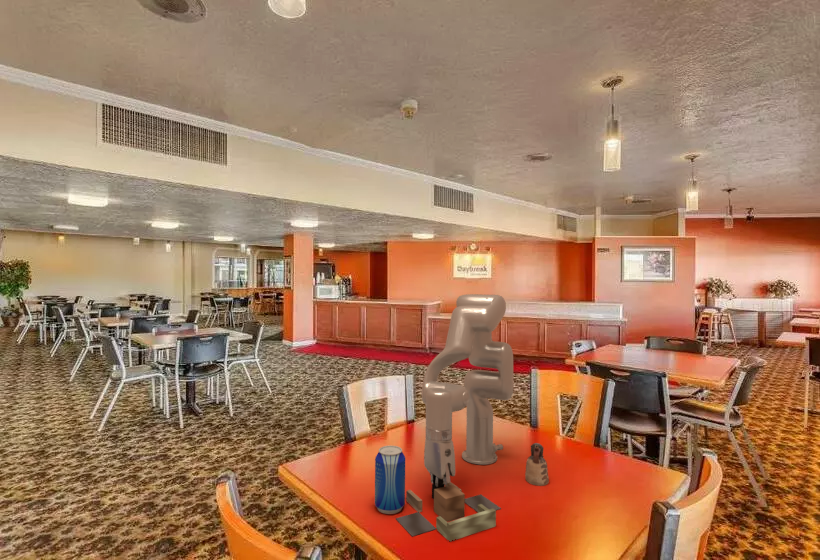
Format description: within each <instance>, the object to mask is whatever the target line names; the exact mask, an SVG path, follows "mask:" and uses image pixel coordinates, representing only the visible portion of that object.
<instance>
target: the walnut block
mask: <svg viewBox="0 0 820 560" xmlns="http://www.w3.org/2000/svg"><path fill="white" fill-rule="evenodd" d="M465 499H466V498H465V493H464V492H461V491H460V490H459V489H457V488H456V487H455V486H453V485H449V486H445V485H444V487H441V488H437V489H434V499H433V512H434V513H435V514H436V515H437V517H439V516H441V517H442V518H443V519H444V520H445V521H446V522H451V521H454V520H457V519H460V518H463V517H465V509H466V508H465V505H466V503H465Z"/></svg>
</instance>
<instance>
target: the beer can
mask: <svg viewBox="0 0 820 560" xmlns="http://www.w3.org/2000/svg"><path fill="white" fill-rule="evenodd" d="M374 463H375V464H374V506H375V507H376V508H377V511H379V512H380V513H382V514H386V515H394V514H397V513H400V512H401V511H402V509H403V507H404V506H405V504H406V456H405V454H404V453H403V449H402V447H400V446H397V445H384V446H382V447H380V448H378V452H377V454H376V456H375V459H374Z"/></svg>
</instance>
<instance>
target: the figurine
mask: <svg viewBox="0 0 820 560" xmlns="http://www.w3.org/2000/svg"><path fill="white" fill-rule="evenodd" d="M548 470H549V469H548V462H547V460H546V459H545V458H544V446H543V445H542V444H541V443H538V442H535V443H532V444H530V456H528V458H527V460H526V462H525V474H524V475H525V481H526V482H527V483H529V484H531V485H533V486H538V487H543V486H544V487H546V486H547V485H548V484H549V482H550V481H549V479H550V477H549V471H548Z"/></svg>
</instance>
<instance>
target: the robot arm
mask: <svg viewBox="0 0 820 560" xmlns="http://www.w3.org/2000/svg"><path fill="white" fill-rule="evenodd" d="M455 301H456V302H455V304H456V307H455V308H454V309H453V310H452V313H451V316H450V319H449V320H450V321H449V325H448V331H447V335H446V336H447V337H446V340H445V346H444V348H443V350H442V351H441V352H440V353H439V354H437V355H436V356H435V357H434V358H433V359H432V360H431V362H430V363H429V364H428V366H427V367H426V369H425V370H426V371H425V373H424V378H423V380H422V381H423V382H422V387H421V401H422V403H424V404H425V439H424V440H425V441H424V450H423V455H424V456H423V460H424V461H423V463H424V467H425V469H426V470H427V472H428V473H429V476H430V483H431V499H433V500H434V489H437V488H441V487H445V485H447V484H450V483H452V482H451V477H455V476H456V454H455V448H454V441H453V439H452V438H453V412H459V411H462V410H464V409H465V408H466V426H465V427H466V428H465V429H466V436H465V437H466V439H465V441H466V442H465V443H466V444H465V445H466V449H465V450H463V451H462V452H461V458H462V459H463V460H464V461H465V462H467V463H470V464H473V465H481V466H482V465H484V466H485V465H492V464H494V463H496V462H497V461H498V454H496V452H498V451H502V450H503V449H504V446H503V444H501V443H500V444H496V443H494V408H493V405H492V404H491V402H490V400H489V399H491V400H499V401H508V400H510V399H511V398H512V397H513V394H514V353H513V349H512V346H511V345H510V344H509V343H508V342H504V341H493V337H492V336H493V335H492V332H494V330H496V329H497V327H498V325H499V323H500V322H501V321H502V320H503V318H504V316H505V313H506V310H507V305H506V300H505V298H504V297H503V296H502V295H499V294H476V293H475V294H474V293H470V294H469V293H467V294H461V295H459V296H458V297H457V298H456V300H455ZM466 359H468V361H469V364H470V365H472V366H474V367H477V368H478V367H479V368H488V369H496V370H498V371H491V370H483V369H472V370H470V371H467V372H466V374H465V376H464V378H463V379H464V381H463V385H464V386H463V385H462V384H457V383H449V382H442V381H441V382H440V381H437V380H438V377H439V375H440V374H441V372H442V371H443V370H444V369H445V368H447V367H448V366H450V365H453V364H455V363H458V362H460V361H463V360H464V361H465V360H466Z"/></svg>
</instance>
